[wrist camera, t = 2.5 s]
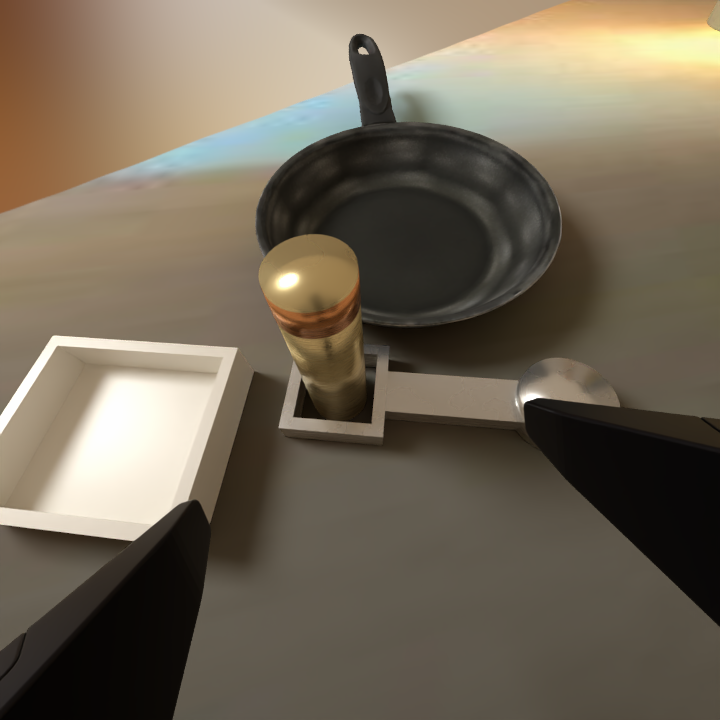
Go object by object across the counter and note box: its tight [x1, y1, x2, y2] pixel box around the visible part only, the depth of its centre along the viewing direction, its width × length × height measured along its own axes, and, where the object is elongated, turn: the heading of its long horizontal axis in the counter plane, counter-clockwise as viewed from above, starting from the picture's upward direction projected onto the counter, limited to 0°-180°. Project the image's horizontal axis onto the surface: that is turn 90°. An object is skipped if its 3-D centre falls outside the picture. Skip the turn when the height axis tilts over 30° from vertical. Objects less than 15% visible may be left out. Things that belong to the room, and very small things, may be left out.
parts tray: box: [0, 336, 254, 541], centre depth 22 cm, size 14×12×4 cm
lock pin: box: [259, 234, 367, 422], centre depth 19 cm, size 4×4×13 cm
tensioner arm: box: [278, 344, 620, 450], centre depth 23 cm, size 21×7×2 cm, turn 84°
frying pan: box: [255, 34, 562, 328], centre depth 34 cm, size 44×25×7 cm, turn 5°
